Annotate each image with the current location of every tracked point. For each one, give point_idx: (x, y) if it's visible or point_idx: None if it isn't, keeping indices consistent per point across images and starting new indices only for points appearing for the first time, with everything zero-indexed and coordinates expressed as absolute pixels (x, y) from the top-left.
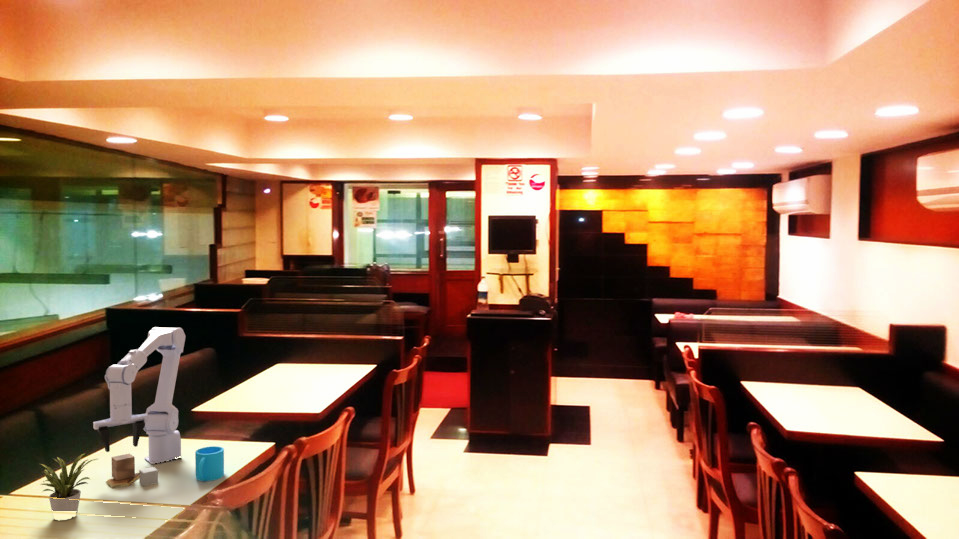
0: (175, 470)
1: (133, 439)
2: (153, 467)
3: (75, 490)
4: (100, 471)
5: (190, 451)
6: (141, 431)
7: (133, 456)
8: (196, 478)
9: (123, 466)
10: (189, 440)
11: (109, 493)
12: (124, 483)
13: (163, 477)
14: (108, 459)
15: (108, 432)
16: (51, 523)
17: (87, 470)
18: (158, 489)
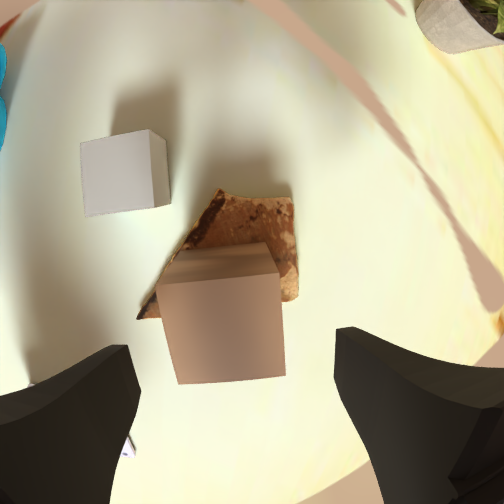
0: (36, 274)
1: (124, 419)
2: (87, 202)
3: (462, 6)
4: (284, 426)
5: None
6: (8, 395)
7: (159, 300)
8: (4, 122)
9: (231, 263)
10: None
11: (311, 134)
12: (237, 197)
13: (77, 212)
14: (239, 495)
15: (481, 396)
16: None
17: (315, 448)
18: (128, 67)
